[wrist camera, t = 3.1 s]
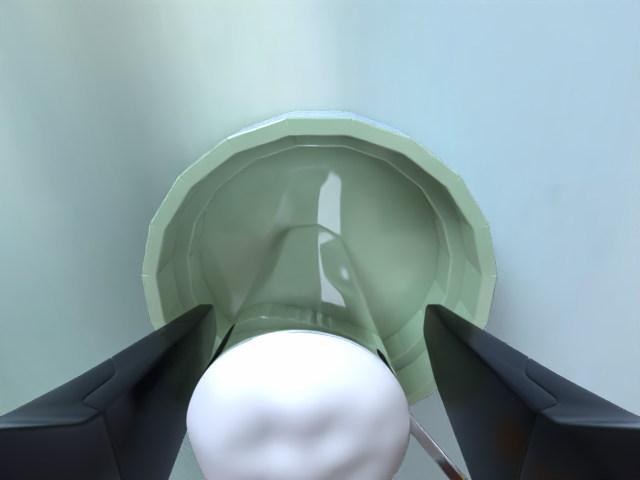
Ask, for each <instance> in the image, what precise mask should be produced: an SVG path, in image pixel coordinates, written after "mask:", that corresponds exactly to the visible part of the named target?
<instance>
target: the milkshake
mask: <svg viewBox="0 0 640 480" xmlns="http://www.w3.org/2000/svg"><path fill="white" fill-rule="evenodd" d="M186 422H187V430H188V435H189V439H190V443H191V446H192V448H193V451H194V454H195V457H196V459H197V462H198V464H199V466H200V468H201V470H202V472H203V474H204V476H205V477H206V479H207V480H392V479H393V477H394V476H395V474H396V472H397V471H398V469H399V467H400V466H401V464H402V462H403V459H404V457H405V454H406V451H407V448H408V443H409V438H410V432H411V433H412V435H413V436H414V437H415V438H416V439H417V441H418V442H419V443H420V444H421V446H422V447H423V448H424V449H425V450H426V452H427V453H428V454H429V455H430V457H431V458H432V459H433V460H434V461H435V463H436V464H437V465H438V466H439V468H440V469H441V470H442V471H443V472H444V474H445V475H446V476H447V477H448V479H449V480H467V479H466V477H465V476H464V475H463V474H462V473H461V472H460V470H459V469H458V468H457V467H456V466H455V465H454V464H453V462H452V461H451V460H450V459H449V458H448V457H447V455H446V454H445V453H444V452H443V451H442V450H441V449H440V447H439V446H438V445H437V444H436V443H435V442H434V440H433V439H432V438H431V437H430V436H429V435H428V434H427V432H426V431H425V430H424V429H423V428H422V427H421V425H420V424H419V423H418V422H417V421H416V420H415V419H414V417H413V416H412V415H411V414H410V412H409V407H408V403H407V399H406V396H405V394H404V391H403V389H402V387H401V384H400V382H399V380H398V377H397V375H396V372H395V370H394V368H393V365H392V363H391V360H390V358H389V356H388V353H387V351H386V349H385V346H384V344H383V341H382V339H381V337H380V334H379V332H378V330H377V328H376V325H375V323H374V321H373V319H372V317H371V315H370V312H369V309H368V306H367V304H366V301H365V298H364V295H363V292H362V290H361V287H360V284H359V281H358V278H357V275H356V273H355V270H354V267H353V264H352V261H351V259H350V257H349V255H348V253H347V251H346V248H345V246H344V244H343V242H342V240H341V238H340V237H339V236H337V235H335V234H333V233H331V232H329V231H327V230H325V229H324V228H322V227H320V226H318V225H314V226H305V227H295V228H290V229H289V230H288V231H287V232H286V233H285V234H284V235H283V236H281V237H280V238H279V239H278V240H277V241H276V242H275V243H273V244H272V246H271V247H270V249H269V251H268V253H267V255H266V257H265V259H264V261H263V263H262V265H261V267H260V269H259V271H258V273H257V275H256V277H255V279H254V281H253V283H252V285H251V287H250V289H249V291H248V293H247V295H246V297H245V299H244V301H243V303H242V305H241V307H240V309H239V311H238V313H237V315H236V317H235V318H234V320H233V322H232V324H231V326H230V327H229V329H228V331H227V333H226V334H225V336H224V338H223V340H222V341H221V343H220V345H219V347H218V348H217V350H216V352H215V354H214V355H213V357H212V359H211V361H210V363H209V364H208V366H207V368H206V370H205V371H204V373H203V375H202V377H201V379H200V381H199V382H198V384H197V386H196V388H195V390H194V393H193V395H192V398H191V400H190V403H189V407H188V411H187V420H186Z"/></svg>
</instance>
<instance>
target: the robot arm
mask: <svg viewBox="0 0 640 480" xmlns="http://www.w3.org/2000/svg"><path fill="white" fill-rule="evenodd" d="M216 334H217V325H216V316H215V308H214V306H213V305H212V304H199V305H197V306H196V307H194V308H192V309H191V310H189V311H187V312H186V313H184V314H182V315H181V316H179V317H177V318H176V319H174V320H173V321H171V322H169V323H168V324H166V325H164V326H163V327H161V328H159V329H158V330H156V331H154V332H153V333H151V334H149V335H148V336H146V337H144V338H143V339H141V340H139V341H138V342H136V343H134V344H133V345H131V346H129V347H128V348H126V349H124V350H123V351H121V352H119V353H118V354H116V355H114V356H113V357H112V359H111V358H110V359H108V360H106V361H104V362H103V363H101V364H99V365H98V366H96V367H94V368H93V369H91V370H89V371H87V372H86V373H84V374H82V375H80V376H79V377H77V378H75V379H73V380H71V381H69V382H67V383H65V384H64V385H62V386H60V387H58V388H56V389H54V390H52V391H50V392H48V393H46V394H44V395H42V396H40V397H39V398H37V399H35V400H33V401H31V402H29V403H27V404H25V405H23V406H21V407H19V408H17V409H15V410H13V411H11V412H9V413H7V414H5V415H3V416H0V480H168V479H169V476H170V474H171V471H172V468H173V466H174V463H175V460H176V458H177V455H178V452H179V450H180V447H181V444H182V442H183V439H184V436H185V434H186V431H187V422H186V420H187V411H188V407H189V403H190V400H191V398H192V395H193V393H194V390H195V388H196V386H197V384H198V382H199V381H200V379H201V377H202V375H203V373H204V371H205V370H206V368H207V366H208V364H209V363H210V360H211V356H212V351H213V347H214V343H215V339H216ZM423 334H424V339H425V343H426V347H427V351H428V356H429V360H430V364H431V368H432V372H433V376H434V379H435V382H436V385H437V388H438V391H439V393H440V396H441V399H442V401H443V404H444V407H445V409H446V412H447V415H448V417H449V420H450V423H451V425H452V428H453V431H454V433H455V436H456V439H457V442H458V444H459V447H460V450H461V452H462V455H463V458H464V460H465V463H466V466H467V468H468V471H469V474H470V476H471V479H472V480H640V416H637V415H635V414H633V413H631V412H629V411H627V410H625V409H623V408H621V407H619V406H617V405H615V404H613V403H611V402H609V401H607V400H605V399H603V398H602V397H600V396H598V395H596V394H594V393H592V392H590V391H588V390H586V389H584V388H582V387H580V386H578V385H576V384H575V383H573V382H571V381H569V380H567V379H565V378H563V377H562V376H560V375H558V374H556V373H554V372H553V371H551V370H549V369H547V368H546V367H544V366H542V365H541V364H539V363H537V362H536V361H534V360H532V359H531V358H529V359H528V357H527V356H526V355H524V354H522V353H521V352H519V351H517V350H516V349H514V348H512V347H511V346H509V345H507V344H506V343H504V342H502V341H501V340H499V339H497V338H496V337H494V336H492V335H491V334H489V333H487V332H486V331H484V330H482V329H481V328H479V327H477V326H476V325H474V324H473V323H471V322H469V321H468V320H466V319H464V318H463V317H461V316H459V315H458V314H456V313H454V312H453V311H451V310H449V309H448V308H446V307H444V306H443V305H441V304H428V305H427V306H426V309H425V317H424V325H423Z"/></svg>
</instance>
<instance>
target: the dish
mask: <svg viewBox="0 0 640 480" xmlns="http://www.w3.org/2000/svg"><path fill="white" fill-rule="evenodd" d="M314 225H318V226H320V227H322V228H324V229H325V230H327V231H329V232H331V233H333V234H335V235H337V236H339V237H340V238H341V240H342V242H343V244H344V246H345V248H346V251H347V253H348V255H349V257H350V259H351V261H352V264H353V267H354V270H355V273H356V275H357V278H358V281H359V284H360V287H361V290H362V292H363V295H364V298H365V301H366V304H367V306H368V309H369V312H370V315H371V317H372V319H373V321H374V323H375V325H376V328H377V330H378V332H379V334H380V337H381V339H382V341H383V344H384V346H385V349H386V351H387V353H388V356H389V358H390V360H391V363H392V365H393V368H394V370H395V372H396V375H397V377H398V380H399V382H400V384H401V387H402V389H403V391H404V394H405V396H406V399H407V403H408V407H409V406H411V405H413V404H415V403H417V402H419V401H421V400H423V399H425V398H426V397H428V396H429V395H431V394H432V393H434V392H435V391H436V390H437V389H438V388H437V385H436V382H435V379H434V376H433V372H432V368H431V364H430V360H429V356H428V351H427V347H426V343H425V339H424V334H423V325H424V317H425V309H426V306H427V305H428V304H441V305H443V306H444V307H446V308H448V309H449V310H451V311H453V312H454V313H456V314H458V315H459V316H461V317H463V318H464V319H466V320H468V321H469V322H471V323H473V324H474V325H476V326H477V327H479V328H481V329H482V330H484V329H485V327H486V325H487V322H488V321H489V315H490V310H491V305H492V300H493V295H494V290H495V284H496V279H497V269H496V263H495V257H494V251H493V246H492V240H491V234H490V228H489V224H488V221H487V220H486V218H485V216H484V215H483V213H482V211H481V210H480V208H479V206H478V204H477V203H476V201H475V199H474V198H473V196H472V194H471V193H470V191H469V189H468V188H467V186H466V184H465V183H464V181H463V179H462V178H461V177H460V175H459V174H458V173H456V172H455V171H454V170H453V169H451V168H450V167H449V166H448V165H446V164H445V163H444V162H443V161H441V160H440V159H439V158H438V157H436V156H435V155H434V154H433V153H431V152H430V151H429V150H428V149H426V148H425V147H424V146H423V145H421V144H420V143H419V142H418V141H416V140H415V139H413V138H412V137H410V136H408V135H406V134H404V133H403V132H401V131H399V130H397V129H395V128H394V127H391V126H388V125H385V124H383V123H380V122H377V121H374V120H371V119H368V118H365V117H362V116H359V115H357V114H354V113H351V112H345V111H294V112H288V113H285V114H282V115H279V116H276V117H274V118H271V119H268V120H265V121H262V122H259V123H256V124H253V125H250V126H247V127H245V128H243V129H241V130H240V131H238V132H236V133H234V134H232V135H231V136H229V137H227V138H225V139H224V140H222V141H221V142H220V143H219V144H217V145H216V146H215V147H214V148H212V149H211V150H210V151H209V152H207V153H206V154H205V155H204V156H202V157H201V158H200V159H199V160H197V161H196V162H195V163H194V164H192V165H191V166H190V167H189V168H187V169H186V170H185V171H184V172H182V173H181V174H180V175H179V177H177V179H176V180H175V182H174V184H173V185H172V187H171V189H170V191H169V192H168V194H167V196H166V197H165V199H164V201H163V202H162V204H161V206H160V207H159V209H158V211H157V212H156V214H155V216H154V217H153V219H152V221H151V224H150V226H149V232H148V238H147V244H146V250H145V255H144V261H143V267H142V281H143V286H144V291H145V296H146V301H147V306H148V312H149V317H150V321H151V324H152V326H153V327H154V329H155V331H156V330H158V329H159V328H161V327H163V326H164V325H166V324H168V323H169V322H171V321H173V320H174V319H176V318H177V317H179V316H181V315H182V314H184V313H186V312H187V311H189V310H191V309H192V308H194V307H196V306H197V305H199V304H212V305H213V306H214V308H215V316H216V325H217V334H216V339H215V343H214V347H213V351H212V356H211V359H212V357H213V355H214V354H215V352H216V350H217V348H218V347H219V345H220V343H221V341H222V340H223V338H224V336H225V334H226V333H227V331H228V329H229V327H230V326H231V324H232V322H233V320H234V318H235V317H236V315H237V313H238V311H239V309H240V307H241V305H242V303H243V301H244V299H245V297H246V295H247V293H248V291H249V289H250V287H251V285H252V283H253V281H254V279H255V277H256V275H257V273H258V271H259V269H260V267H261V265H262V263H263V261H264V259H265V257H266V255H267V253H268V251H269V249H270V247H271V246H272V244H273V243H275V242H276V241H277V240H278V239H279V238H280V237H281V236H283V235H284V234H285V233H286V232H287V231H288V230H289V229H290V228H295V227H305V226H314ZM210 361H211V360H210Z"/></svg>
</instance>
